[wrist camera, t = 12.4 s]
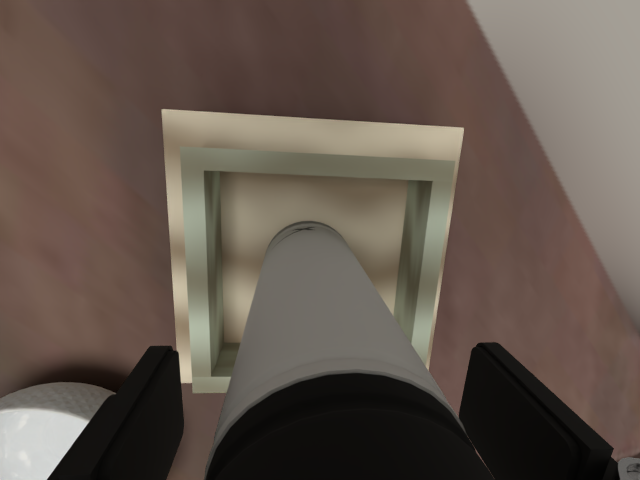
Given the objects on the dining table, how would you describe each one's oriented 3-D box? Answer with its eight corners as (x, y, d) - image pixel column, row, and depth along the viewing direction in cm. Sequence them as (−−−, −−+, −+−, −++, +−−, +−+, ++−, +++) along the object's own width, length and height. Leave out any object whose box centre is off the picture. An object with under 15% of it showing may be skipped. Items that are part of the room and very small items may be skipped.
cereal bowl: (175, 497, 35) (146, 579, 28) (8, 493, 33) (-65, 579, 27) (180, 361, 31) (149, 417, 25) (-8, 348, 30) (-98, 405, 23)
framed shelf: (190, 120, 26) (130, 97, 16) (428, 134, 28) (500, 121, 18) (200, 340, 31) (158, 423, 21) (403, 340, 33) (449, 417, 23)
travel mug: (283, 202, 22) (227, 486, 3) (365, 242, 24) (696, 626, 4) (246, 279, 24) (34, 839, 4) (326, 313, 25) (448, 871, 5)
